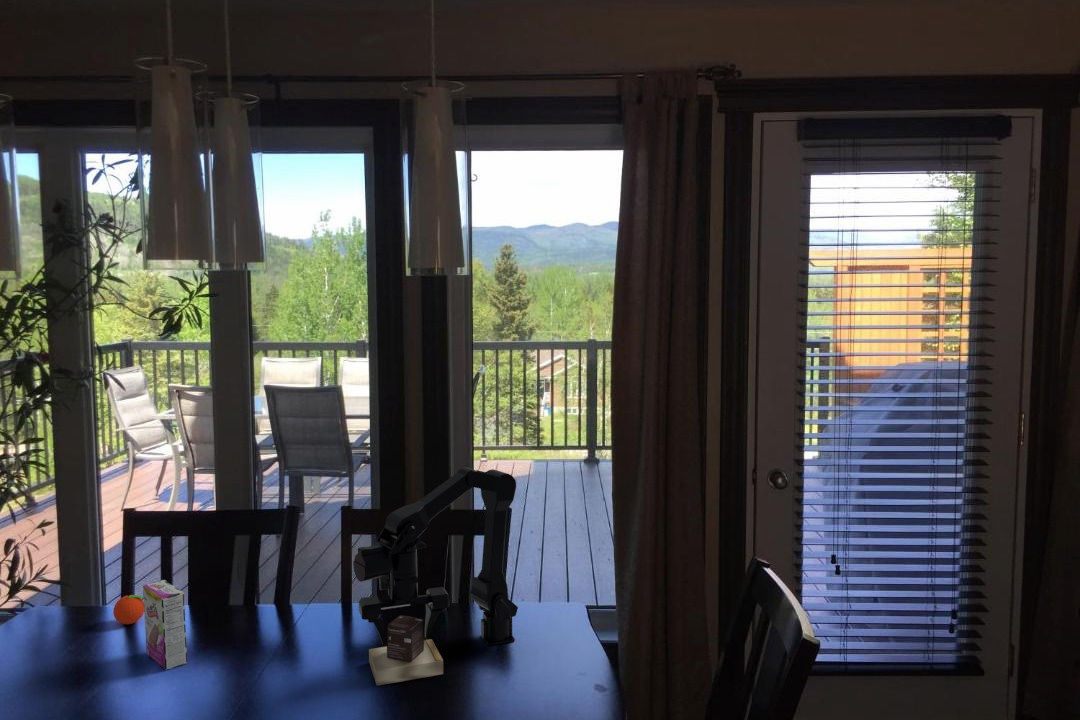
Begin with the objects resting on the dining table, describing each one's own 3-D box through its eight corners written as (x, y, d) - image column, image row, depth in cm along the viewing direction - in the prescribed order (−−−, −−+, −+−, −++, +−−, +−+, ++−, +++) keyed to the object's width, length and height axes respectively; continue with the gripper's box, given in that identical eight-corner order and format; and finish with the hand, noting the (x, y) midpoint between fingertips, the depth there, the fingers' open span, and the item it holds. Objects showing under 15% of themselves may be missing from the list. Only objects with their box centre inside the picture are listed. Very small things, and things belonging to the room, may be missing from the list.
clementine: (152, 615, 197) (151, 588, 196) (146, 626, 190) (145, 598, 190) (117, 619, 195) (116, 591, 194) (110, 630, 188) (109, 602, 188)
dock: (432, 652, 175) (431, 638, 175) (443, 674, 165) (443, 659, 165) (369, 662, 171) (368, 648, 170) (376, 685, 160) (376, 670, 160)
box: (386, 658, 166) (385, 625, 165) (400, 646, 172) (399, 614, 171) (411, 663, 164) (410, 629, 163) (425, 650, 170) (424, 618, 169)
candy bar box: (144, 655, 174) (141, 584, 173) (167, 648, 178) (164, 578, 177) (164, 672, 167) (161, 597, 166) (188, 663, 171) (185, 591, 169)
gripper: (438, 554, 177) (439, 620, 178) (354, 564, 171) (356, 633, 172) (449, 569, 167) (451, 640, 168) (361, 581, 160) (363, 654, 161)
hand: (405, 641), depth 167 cm, fingers open, 9 cm apart
